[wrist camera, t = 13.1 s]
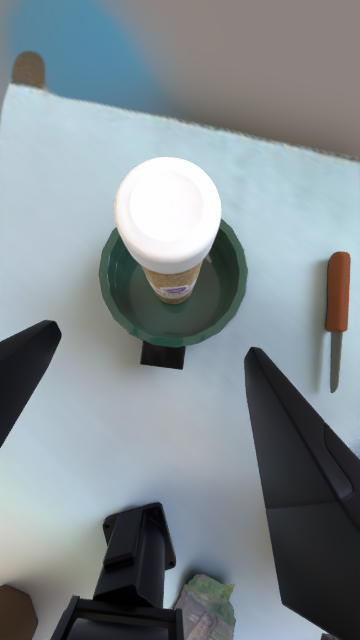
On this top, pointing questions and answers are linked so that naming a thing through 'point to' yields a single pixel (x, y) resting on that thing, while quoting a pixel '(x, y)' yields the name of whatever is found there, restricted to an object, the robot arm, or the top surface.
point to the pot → (186, 317)
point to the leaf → (206, 609)
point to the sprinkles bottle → (168, 222)
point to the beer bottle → (16, 615)
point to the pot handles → (162, 356)
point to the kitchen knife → (337, 309)
